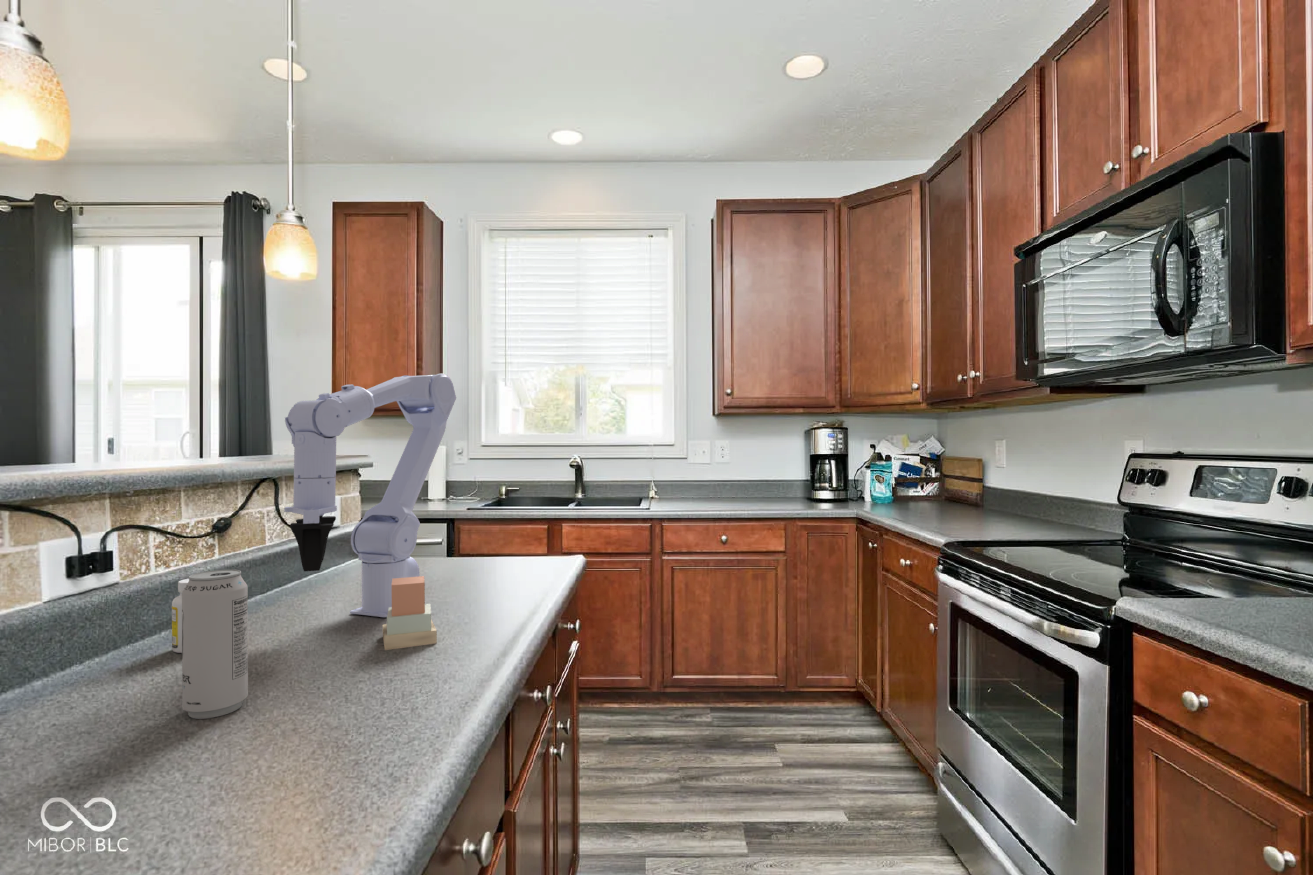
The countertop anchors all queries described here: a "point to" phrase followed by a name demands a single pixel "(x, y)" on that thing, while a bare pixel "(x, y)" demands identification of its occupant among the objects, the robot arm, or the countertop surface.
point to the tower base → (409, 638)
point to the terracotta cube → (408, 596)
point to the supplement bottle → (177, 618)
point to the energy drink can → (214, 643)
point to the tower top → (409, 622)
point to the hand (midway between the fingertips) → (313, 566)
